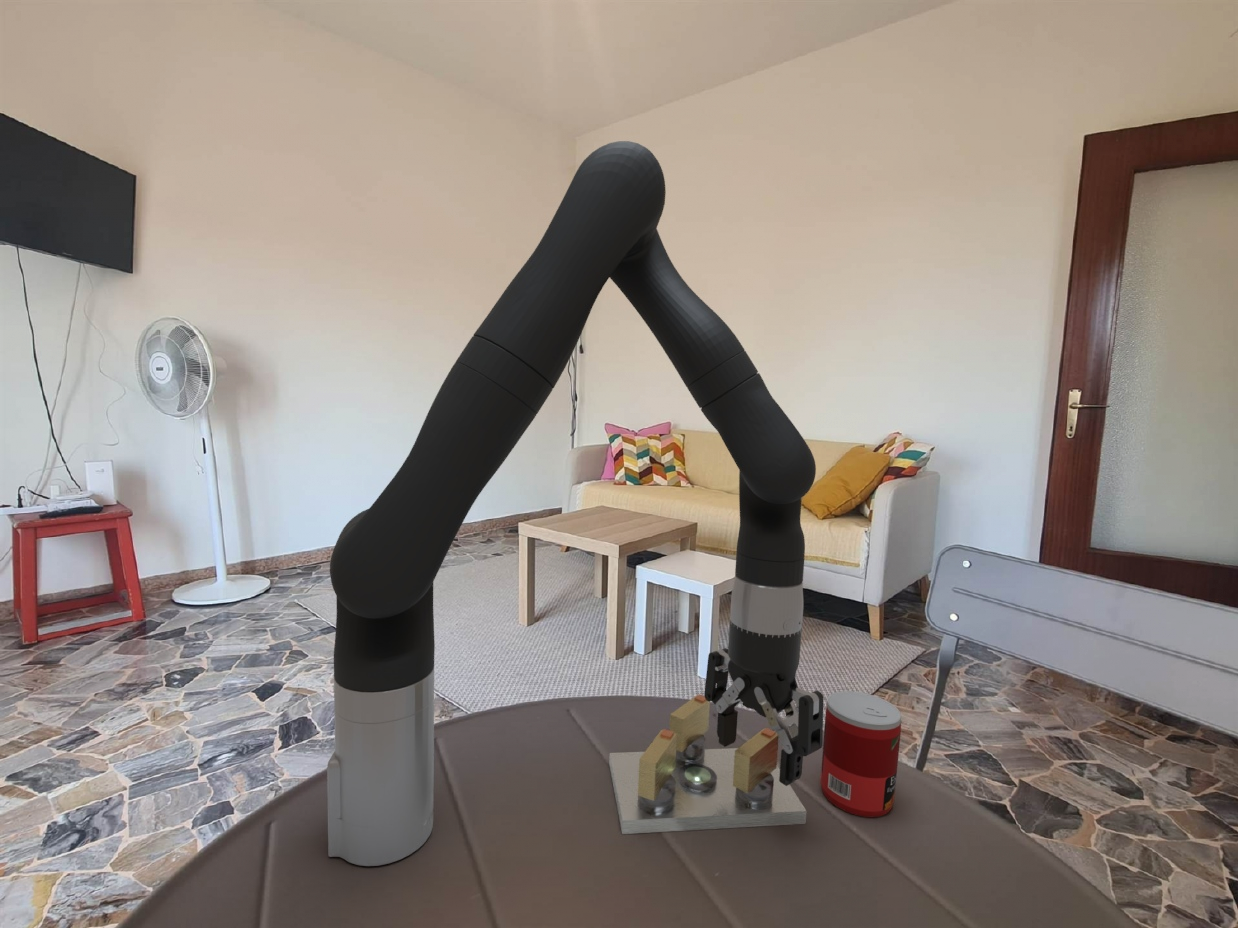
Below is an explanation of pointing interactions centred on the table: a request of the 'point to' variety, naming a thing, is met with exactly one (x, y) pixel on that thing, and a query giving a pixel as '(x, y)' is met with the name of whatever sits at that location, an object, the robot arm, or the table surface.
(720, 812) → the level plate
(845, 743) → the canned food
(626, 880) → the table surface
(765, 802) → the knob
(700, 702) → the yellow paddle knob
